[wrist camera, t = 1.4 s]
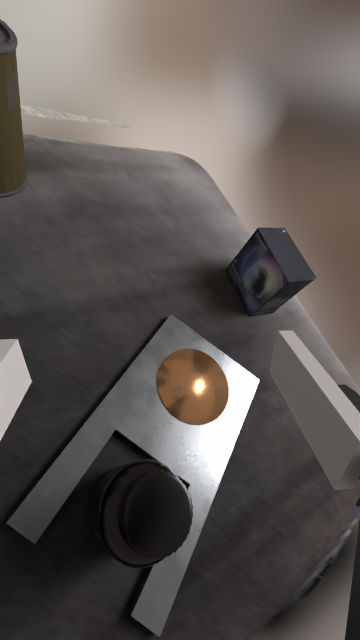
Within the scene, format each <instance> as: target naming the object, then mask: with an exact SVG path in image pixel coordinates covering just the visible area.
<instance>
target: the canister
mask: <svg viewBox="0 0 360 640" xmlns="http://www.w3.org/2000/svg"><path fill="white" fill-rule="evenodd" d="M16 47H17V37H16V36H15V34H14V32H13V31H12V30H11V29H10V28H9V27H8V25H7V24H6V23H5V22H3V21H1V20H0V197H7V196H11V195H14V194H17V193H19V192H21V191H22V190H23V189H24V188H25V187H26V185H27V183H28V175H27V172H26V168H25V156H24V144H23V132H22V120H21V108H20V97H19V86H18V73H17V61H16V50H15V49H16Z"/></svg>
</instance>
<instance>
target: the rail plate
mask: <svg viewBox="0 0 360 640" xmlns="http://www.w3.org/2000/svg"><path fill="white" fill-rule="evenodd" d="M258 383H259V379H258V378H256V377H255V376H254V375H252V374H251V373H250V372H248V371H247V370H246V369H244V368H243V367H242V366H240V365H239V364H238V363H236V362H235V361H234V360H232V359H231V358H230V357H228V356H227V355H226V354H224V353H223V352H222V351H220V350H219V349H217V348H216V347H215V346H213V345H212V344H211V343H209V342H208V341H207V340H205V339H204V338H203V337H201V336H200V335H199V334H197V333H196V332H195V331H193V330H192V329H191V328H189V327H188V326H187V325H185V324H184V323H183V322H181V321H180V320H179V319H177V318H176V317H175V316H173V315H172V314H171V315H170V316H169V317H168V319H167V320H166V321H165V322H164V324H163V325H162V326H161V328H160V329H159V330H158V331H157V333H156V334H155V335H154V336H153V338H152V339H151V340H150V341H149V343H148V344H147V345H146V347H145V348H144V349H143V350H142V352H141V353H140V354H139V355H138V357H137V358H136V359H135V360H134V362H133V363H132V364H131V366H130V367H129V368H128V369H127V371H126V372H125V373H124V374H123V376H122V377H121V378H120V379H119V381H118V382H117V383H116V385H115V386H114V387H113V388H112V390H111V391H110V392H109V393H108V395H107V396H106V397H105V398H104V400H103V401H102V402H101V403H100V405H99V406H98V407H97V409H96V410H95V411H94V412H93V414H92V415H91V416H90V417H89V419H88V420H87V421H86V422H85V424H84V425H83V426H82V428H81V429H80V430H79V431H78V433H77V434H76V435H75V436H74V438H73V439H72V440H71V441H70V443H69V444H68V445H67V447H66V448H65V449H64V450H63V452H62V453H61V454H60V455H59V457H58V458H57V459H56V460H55V462H54V463H53V464H52V465H51V467H50V468H49V469H48V471H47V472H46V473H45V474H44V476H43V477H42V478H41V479H40V481H39V482H38V483H37V484H36V486H35V487H34V488H33V490H32V491H31V492H30V493H29V495H28V496H27V497H26V498H25V500H24V501H23V502H22V503H21V505H20V506H19V507H18V509H17V510H16V511H15V512H14V514H13V515H12V516H11V517H10V519H9V520H8V521H7V522H6V523H7V524H8V525H9V526H11V527H12V528H13V529H15V530H16V531H17V532H19V533H20V534H22V535H23V536H24V537H26V538H27V539H28V540H30V541H31V542H32V543H34V544H36V542H37V541H38V539H39V538H40V536H41V535H42V534H43V532H44V531H45V529H46V528H47V526H48V525H49V524H50V522H51V521H52V519H53V518H54V516H55V515H56V514H57V512H58V511H59V509H60V508H61V506H62V505H63V504H64V502H65V501H66V499H67V498H68V496H69V495H70V494H71V492H72V491H73V489H74V488H75V486H76V485H77V484H78V482H79V481H80V479H81V478H82V477H83V475H84V474H85V472H86V471H87V469H88V468H89V467H90V465H91V464H92V462H93V461H94V459H95V458H96V457H97V455H98V454H99V452H100V451H101V449H102V448H103V447H104V445H105V444H106V442H107V441H108V439H109V438H110V437H111V435H112V434H113V432H114V431H115V432H117V433H118V434H119V435H121V436H122V437H123V438H125V439H126V440H127V441H129V442H130V443H131V444H133V445H134V446H135V447H137V448H138V449H139V450H141V451H142V452H144V453H145V454H146V455H148V456H149V457H150V458H152V459H153V460H156V461H159V462H161V463H163V464H165V465H166V466H168V467H169V468H170V469H171V470H172V471H173V472H174V473H175V474H176V475H177V477H178V478H179V479H180V480H182V482H184V483H185V484H187V485H186V488H187V490H188V491H189V494H190V497H191V499H192V505H193V510H192V512H193V518H192V525H191V527H190V532H189V534H188V535H187V539H186V540H185V541H184V542H183V545H182V546H181V547H180V548H178V550H177V551H176V552H175V553H172V554H171V555H170V556H167V557H166V558H165V559H163V560H162V561H161V562H159V563H157V564H155V565H153V566H150V567H149V568H148V570H147V572H146V574H145V576H144V579H143V581H142V583H141V585H140V587H139V590H138V592H137V594H136V596H135V598H134V600H133V603H132V605H131V607H130V609H129V611H128V612H129V614H130V615H131V616H132V617H133V618H135V619H136V620H137V621H139V622H140V623H141V624H143V625H144V626H145V627H147V628H148V629H149V630H151V631H152V632H153V633H155V634H156V635H157V636H159V637H160V635H161V633H162V630H163V627H164V625H165V622H166V620H167V617H168V615H169V612H170V609H171V607H172V604H173V602H174V599H175V597H176V594H177V591H178V589H179V586H180V584H181V581H182V579H183V576H184V573H185V571H186V568H187V566H188V563H189V561H190V558H191V555H192V553H193V550H194V548H195V545H196V542H197V540H198V537H199V535H200V532H201V530H202V527H203V524H204V522H205V519H206V517H207V514H208V512H209V509H210V506H211V504H212V501H213V499H214V496H215V494H216V491H217V488H218V486H219V483H220V481H221V478H222V476H223V473H224V470H225V468H226V465H227V463H228V460H229V458H230V455H231V452H232V450H233V447H234V445H235V442H236V439H237V437H238V434H239V432H240V429H241V427H242V424H243V421H244V419H245V416H246V414H247V411H248V409H249V406H250V403H251V401H252V398H253V396H254V393H255V391H256V388H257V385H258Z"/></svg>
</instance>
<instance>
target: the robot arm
mask: <svg viewBox="0 0 360 640" xmlns="http://www.w3.org/2000/svg"><path fill="white" fill-rule="evenodd" d="M269 372H270V374H271V376H272V378H273V379H274V381H275V383H276V385H277V387H278V389H279V390H280V392H281V394H282V396H283V398H284V399H285V401H286V403H287V405H288V407H289V408H290V410H291V412H292V414H293V416H294V418H295V419H296V421H297V423H298V425H299V427H300V428H301V430H302V432H303V434H304V436H305V438H306V439H307V441H308V443H309V445H310V447H311V448H312V450H313V452H314V454H315V456H316V457H317V459H318V461H319V463H320V465H321V467H322V468H323V470H324V472H325V474H326V476H327V477H328V479H329V481H330V483H331V485H332V487H333V488H334V490H338V489H350V488H354V487H355V485H356V484H357V482H358V480H359V479H360V396H359V395H358V393H356V392H355V391H354V390H352V389H351V388H349V387H348V386H346V385H337V384H336V383H335V382H334V381H333V379H332V378H331V377H330V376H329V375H328V373H327V372H326V371H325V370H324V368H323V367H322V366H321V365H320V364H319V362H318V361H317V360H316V359H315V357H314V356H313V355H312V354H311V352H310V351H309V350H308V349H307V348H306V346H305V345H304V344H303V343H302V341H301V340H300V339H299V338H298V337H297V335H296V334H295V333H294V332H293V331H279V332H278V336H277V340H276V344H275V348H274V352H273V357H272V361H271V365H270V369H269ZM31 382H32V381H31V378H30V375H29V372H28V369H27V366H26V363H25V360H24V357H23V354H22V351H21V348H20V345H19V342H18V339H4V340H0V440H1V439H2V437H3V435H4V433H5V431H6V429H7V427H8V425H9V424H10V422H11V420H12V418H13V416H14V414H15V412H16V410H17V408H18V407H19V405H20V403H21V401H22V399H23V397H24V395H25V393H26V391H27V390H28V388H29V386H30V384H31ZM356 505H357V506H358V507H359V506H360V498H359V499H358V501H357V503H356ZM345 640H360V521H359V529H358V537H357V546H356V554H355V563H354V570H353V578H352V586H351V594H350V603H349V611H348V619H347V627H346V635H345Z"/></svg>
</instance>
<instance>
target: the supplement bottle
mask: <svg viewBox="0 0 360 640" xmlns="http://www.w3.org/2000/svg"><path fill="white" fill-rule="evenodd" d="M192 510H193V505H192V499H191V497H190V494H189V491H188V490H187V488H186V485H185V484H183V482H182V480H180V479H179V478H178V477H177V475H176V474H175V473H174V472H173V471H172V470H171V469H170V468H169V467H168V466H166V465H165V464H163V463H161V462H159V461H156V460H149V459H144V460H137V461H134V462H131V463H128V464H125V465H122V466H120V467H117V468H115V469H113V470H111V471H109V472H108V473H107V474H105V475H104V476H103V477H102V478H101V479H100V481H99V482H98V483H97V485H96V486H95V488H94V490H93V492H92V495H91V498H90V502H89V508H88V517H89V523H90V527H91V530H92V532H93V534H94V536H95V537H96V539H97V540H98V541H99V542H100V543H101V545H102V546H103V547H104V548H105V549H106V550H107V551H108V552H109V553H110V555H111V556H112V557H114V558H115V559H116V560H117V561H118V562H120V563H122V564H124V565H126V566H129V567H133V568H146V567H150V566H153V565H155V564H157V563H159V562H161V561H162V560H163V559H165V558H166V557H167V556H170V555H171V554H172V553H175V552H176V551H177V550H178V548H180V547H181V546H182V545H183V542H184V541H185V540H186V539H187V535H188V534H189V532H190V527H191V525H192V518H193V512H192Z"/></svg>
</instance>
